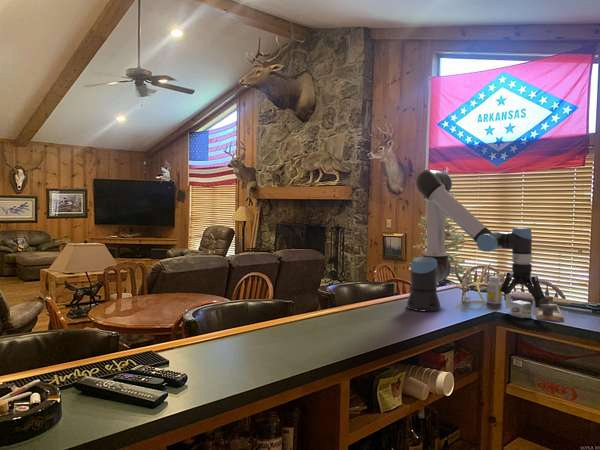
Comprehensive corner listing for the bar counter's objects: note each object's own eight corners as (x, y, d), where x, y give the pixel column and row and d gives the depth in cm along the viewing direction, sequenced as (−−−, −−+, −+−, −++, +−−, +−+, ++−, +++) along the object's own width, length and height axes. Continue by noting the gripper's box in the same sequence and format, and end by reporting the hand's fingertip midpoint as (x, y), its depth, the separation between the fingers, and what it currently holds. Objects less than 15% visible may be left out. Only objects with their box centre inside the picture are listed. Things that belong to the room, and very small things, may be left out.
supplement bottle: (498, 301, 224) (499, 275, 224) (503, 304, 218) (504, 278, 217) (485, 301, 225) (485, 275, 224) (489, 304, 219) (489, 277, 218)
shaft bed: (536, 318, 192) (536, 305, 191) (532, 305, 215) (533, 293, 215) (563, 321, 188) (563, 307, 187) (556, 307, 211) (557, 295, 211)
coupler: (507, 315, 198) (507, 301, 197) (521, 313, 202) (521, 299, 201) (519, 318, 192) (519, 304, 192) (533, 316, 196) (534, 302, 196)
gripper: (492, 260, 205) (492, 306, 206) (542, 267, 183) (542, 318, 184) (503, 259, 209) (503, 304, 210) (554, 265, 186) (554, 316, 187)
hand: (521, 311), depth 197 cm, fingers open, 13 cm apart
